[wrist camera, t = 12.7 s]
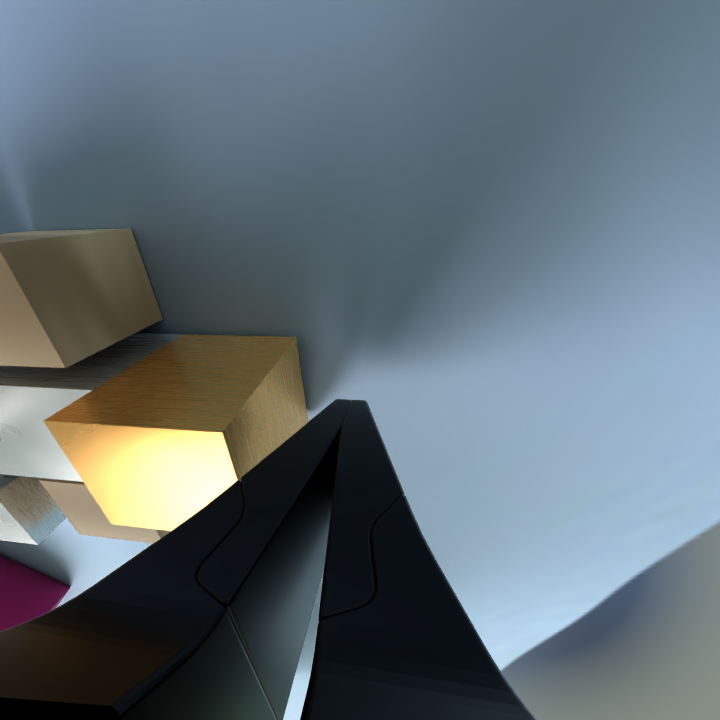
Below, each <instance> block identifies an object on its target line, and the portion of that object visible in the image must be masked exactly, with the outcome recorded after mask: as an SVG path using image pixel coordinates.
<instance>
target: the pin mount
mask: <svg viewBox="0 0 720 720" xmlns="http://www.w3.org/2000/svg"><path fill="white" fill-rule="evenodd" d="M162 319H163V317H162V315H161V312H160V309H159V306H158V303H157V300H156V298H155V295H154V292H153V289H152V286H151V284H150V281H149V278H148V275H147V272H146V269H145V267H144V264H143V261H142V258H141V255H140V252H139V250H138V247H137V244H136V241H135V238H134V236H133V233H132V230H131V228H127V229H88V230H49V231H26V232H15V233H4V234H0V365H3V366H27V367H52V368H67V367H69V366H71V365H73V364H75V363H77V362H79V361H81V360H83V359H84V358H86V357H88V356H90V355H92V354H94V353H96V352H98V351H100V350H102V349H104V348H106V347H108V346H110V345H112V344H114V343H116V342H118V341H120V340H122V339H124V338H126V337H128V336H130V335H132V334H134V333H136V332H138V331H140V330H142V329H144V328H146V327H148V326H150V325H152V324H154V323H156V322H158V321H160V320H162ZM39 481H40V483H41V484H42V485H43V487H44V488H45V489H46V491H47V492H48V493H49V495H50V496H51V497H52V499H53V500H54V501H55V503H56V504H57V505H58V506H59V508H60V509H61V510H62V512H63V513H64V514H65V516H66V517H67V518H68V520H69V521H70V522H71V524H72V525H73V526H74V528H75V529H76V530H77V532H78V533H79V534H81V535H89V536H97V537H106V538H114V539H122V540H131V541H139V542H147V543H155V542H156V541H158V540H159V539H160V538H162V537H163V536H165V535H166V534H168V533H169V532H171V531H167V530H158V529H149V528H140V527H131V526H123V525H114V524H111V523H110V521H109V520H108V518H107V517H106V515H105V514H104V512H103V511H102V509H101V508H100V506H99V505H98V503H97V502H96V500H95V499H94V497H93V496H92V494H91V493H90V491H89V490H88V488H87V486H86V485H85V483H84V482H79V481H68V480H58V479H47V478H41V479H40V480H39Z"/></svg>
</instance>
